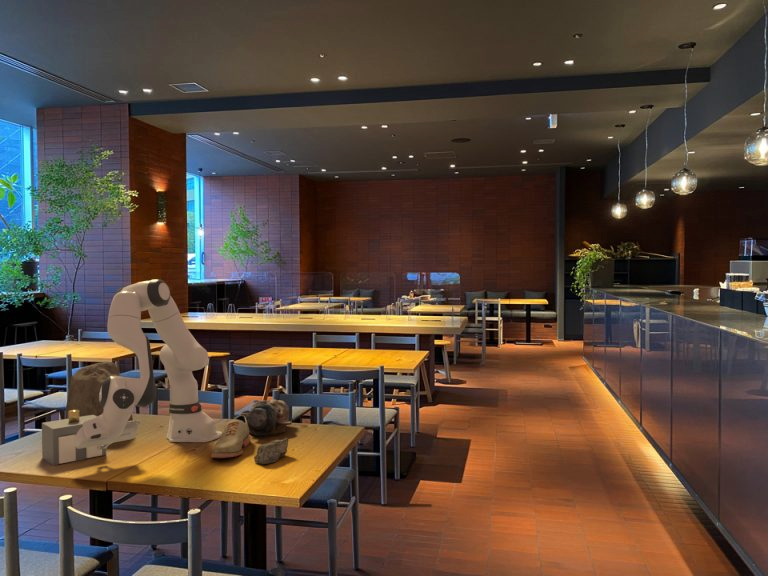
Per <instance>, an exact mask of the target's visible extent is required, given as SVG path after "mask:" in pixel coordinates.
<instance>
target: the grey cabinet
mask: <svg viewBox="0 0 768 576" xmlns="http://www.w3.org/2000/svg"><path fill="white" fill-rule="evenodd" d="M95 417H97V416H95V415H88V416H82V417H79V422H75V423H69V419H65V418H64V419H59V420H58V419H57V420H52V421H46V422H41V445H42V447H41V448H42V449H41V451H42V454H41V455H42V456H41V457H42V459H43V460H45V461H46V462H48V463H49V464H50V463H51V466H53V465H54V466H58V465H59V462H58V437H59V436H64V435H70V434H72V435H73V434H75V436H76V434H77V432H78V431H79V429H80V428H82V427H83V422H84V421H87V420H90V419H93V418H95ZM101 456H107V448H105V449H102V455H100V457H101ZM86 459H87V458H86V448H81V449H78V448H76V461H75V462H77V461H81V460H82V461H83V460H86Z"/></svg>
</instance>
